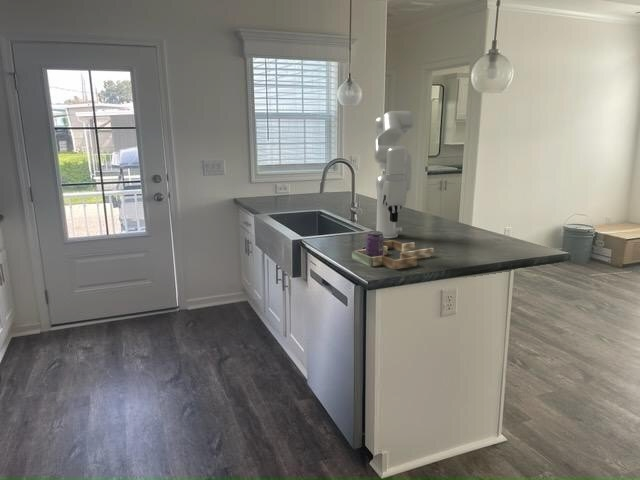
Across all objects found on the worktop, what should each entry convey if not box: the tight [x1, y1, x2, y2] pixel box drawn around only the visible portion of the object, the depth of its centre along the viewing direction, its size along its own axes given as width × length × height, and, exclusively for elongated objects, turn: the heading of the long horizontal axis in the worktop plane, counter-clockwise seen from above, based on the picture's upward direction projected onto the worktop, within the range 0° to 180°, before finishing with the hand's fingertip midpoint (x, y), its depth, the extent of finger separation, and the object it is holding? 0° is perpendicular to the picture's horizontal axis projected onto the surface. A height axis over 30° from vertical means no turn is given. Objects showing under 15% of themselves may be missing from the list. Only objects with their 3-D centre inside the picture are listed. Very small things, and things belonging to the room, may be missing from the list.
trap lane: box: [351, 239, 435, 270], centre depth 204 cm, size 33×29×4 cm
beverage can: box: [365, 230, 385, 257], centre depth 198 cm, size 7×7×12 cm
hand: (393, 221), depth 201 cm, fingers closed
